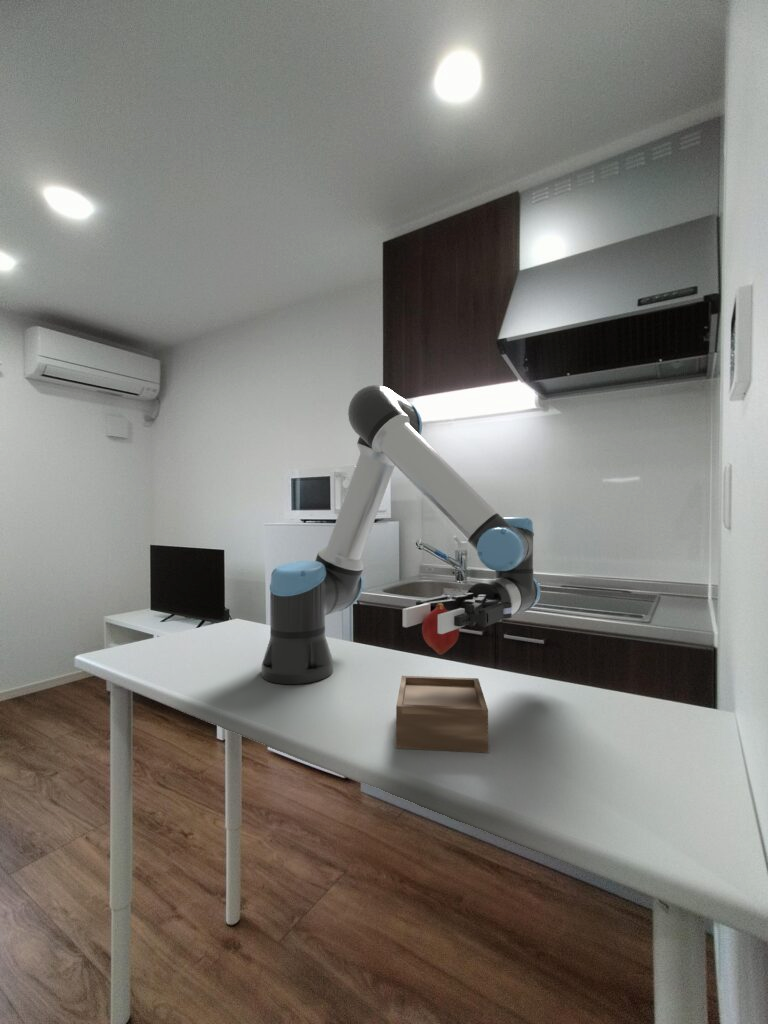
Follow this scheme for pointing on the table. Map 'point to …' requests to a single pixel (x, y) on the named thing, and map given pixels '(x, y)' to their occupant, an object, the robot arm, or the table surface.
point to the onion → (431, 632)
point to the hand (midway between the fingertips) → (421, 621)
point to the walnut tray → (441, 714)
